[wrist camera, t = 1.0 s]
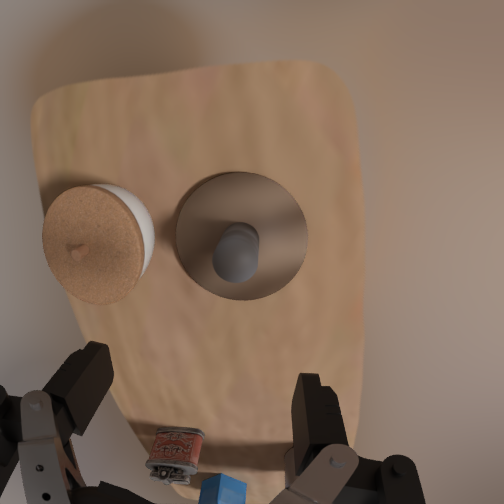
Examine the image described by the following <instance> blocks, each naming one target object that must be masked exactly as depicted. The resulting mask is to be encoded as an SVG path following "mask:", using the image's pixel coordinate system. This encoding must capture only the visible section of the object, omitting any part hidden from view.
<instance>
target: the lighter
mask: <svg viewBox="0 0 504 504" xmlns="http://www.w3.org/2000/svg"><path fill="white" fill-rule="evenodd" d="M156 435H157V436H156V439H155V442H154V445H153V448H152V451H151V454H150V457H149V460H147V462H146V467H147V468H148V469H150V470H152V472H151V474H150V477H149V478H150V479H151V480H154V481H162V482H163V483H164V484H165V485H169V484H171V483H174V484H190V480H191V477H190V476H189V475H194V474H197V470H198V467H197V464H198V459H199V454H200V450H201V445H202V441H203V440H204V436H205V434H204V432H203V431H201V430H200V429H196V428H187V427H165V428H159V429H158V430H157V433H156Z"/></svg>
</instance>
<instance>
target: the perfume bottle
mask: <svg viewBox="0 0 504 504" xmlns="http://www.w3.org/2000/svg"><path fill="white" fill-rule="evenodd" d="M246 486H247V484H246V483H244V482H241V481H239V480H236V479H234V478H231V477H229V476H227V475H224V474H222V473H221V474H218V475H216V476H214V477H211V478H209V479H206V480H204V481H202V486H201V492H200V497H199V503H198V504H245V499H246Z"/></svg>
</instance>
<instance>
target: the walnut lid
mask: <svg viewBox="0 0 504 504" xmlns="http://www.w3.org/2000/svg"><path fill="white" fill-rule="evenodd" d="M176 245H177V250H178V253H179V256H180V259H181V261H182V263H183V265H184V267H185V269H186V270H187V272H188V273H189V275H190V276H191V277H192V278H193V279H194V280H195V281H196V282H197V283H198V284H199V285H200V286H202V287H203V288H205V289H206V290H208V291H209V292H211V293H213V294H215V295H218V296H220V297H224V298H227V299H232V300H254V299H259V298H263V297H266V296H269V295H271V294H273V293H275V292H277V291H278V290H280V289H281V288H283V287H284V286H285V285H286V284H288V283H289V282H290V281H291V280H292V279H293V277H294V276H295V275H296V274H297V272H298V271H299V269H300V267H301V265H302V263H303V261H304V258H305V255H306V251H307V246H308V230H307V225H306V220H305V218H304V215H303V212H302V210H301V208H300V206H299V205H298V203H297V202H296V200H295V199H294V198H293V196H292V195H291V194H290V193H289V192H288V191H287V190H286V189H285V188H284V187H282V186H281V185H280V184H278V183H277V182H275V181H273V180H271V179H269V178H267V177H265V176H261V175H258V174H254V173H247V172H236V173H228V174H225V175H221V176H218V177H216V178H213V179H211V180H209V181H208V182H206V183H204V184H203V185H201V186H200V187H199V188H198V189H196V190H195V191H194V192H193V193H192V194H191V195H190V197H189V198H188V199H187V201H186V202H185V204H184V206H183V208H182V210H181V212H180V215H179V217H178V221H177V226H176Z"/></svg>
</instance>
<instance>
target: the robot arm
mask: <svg viewBox="0 0 504 504" xmlns="http://www.w3.org/2000/svg"><path fill="white" fill-rule="evenodd" d="M113 378H114V371H113V366H112V361H111V357H110V352H109V347H108V345H106V344H103V343H99V342H95V341H90V342H89V343H88V344H87V345H86V346H85V348H84V349H83V350H81V349H79V350H77V351H76V352H74V353H72V354H71V355H70V356H69V357H68V358H67V359H66V361H65V362H64V364H62V365H61V367H60V368H59V370H57V372H56V373H55V374H54V375H53V377H52V378H51V379H50V381H49V382H48V383H47V384H46V385H45V387H44V388H43V389H42V390H34V391H31V392H28V393H27V394H25V395H24V396H23V397H17V396H10V395H8V394H7V392H6V390H5V388H4V387H3V386H1V385H0V497H1V495H2V493H3V491H4V488H5V487H6V484H7V482H8V480H9V478H10V476H11V474H12V472H13V471H14V469H15V467H16V465H17V463H18V461H20V468H21V474H22V480H23V486H24V491H25V496H26V500H27V504H155V503H152V502H150V501H148V500H146V499H144V498H142V497H140V496H138V495H136V494H135V493H133V492H131V491H129V490H127V489H124V488H121V487H118V486H114V485H112V484H109V483H106V482H103V481H100V484H99V486H98V487H96V486H95V487H94V486H88V487H87V486H86V484H85V482H84V480H83V478H82V476H81V473H80V470H79V467H78V463H77V460H76V457H75V453H74V450H73V445H72V442H71V439H70V437H71V435H72V433H75V434H77V435H80V436H82V435H83V434H84V432H85V430H86V428H87V426H88V424H89V422H90V421H91V419H92V417H93V416H94V414H95V412H96V410H97V408H98V407H99V405H100V403H101V401H102V400H103V398H104V396H105V395H106V393H107V391H108V389H109V388H110V386H111V384H112V382H113ZM291 414H292V429H293V445H294V447H293V448H292V449H290V450H289V451H288V452H287V453H286V454H285V458H284V459H285V489H284V490H282V491H281V492H280V493H279V494H278V495H277V496H276V497H275V498H274V499H273V500H272V501H271V502H270V503H269V504H426V503H425V499H424V495H423V491H422V487H421V483H420V480H419V476H418V473H417V470H416V466H415V464H414V462H413V461H412V460H411V459H410V458H408V457H406V456H403V455H392V456H389V457H387V458H386V459H385V460H384V461H383V462H382V461H376V460H370V459H365V458H362V457H360V456H358V455H357V454H356V452H355V451H354V450H353V449H352V448H350V447H349V444H348V441H347V436H346V432H345V427H344V423H343V419H342V415H341V410H340V407H339V402H338V397H337V395H336V393H335V392H334V391H333V390H332V388H331V387H330V386H321V383H320V378H319V374H314V373H300V374H299V376H298V380H297V384H296V388H295V391H294V395H293V399H292V407H291Z"/></svg>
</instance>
